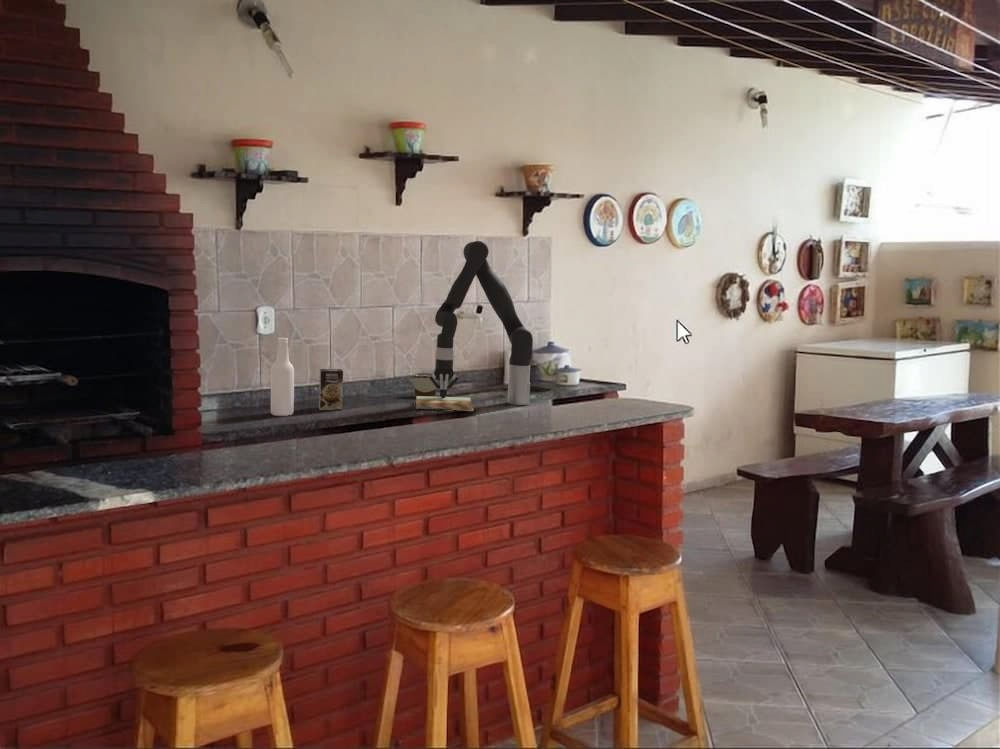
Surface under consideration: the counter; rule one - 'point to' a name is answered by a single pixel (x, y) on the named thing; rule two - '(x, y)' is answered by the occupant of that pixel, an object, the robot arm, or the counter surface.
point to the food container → (424, 385)
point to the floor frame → (446, 404)
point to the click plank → (442, 398)
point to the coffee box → (330, 389)
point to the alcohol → (282, 382)
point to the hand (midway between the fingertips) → (443, 397)
